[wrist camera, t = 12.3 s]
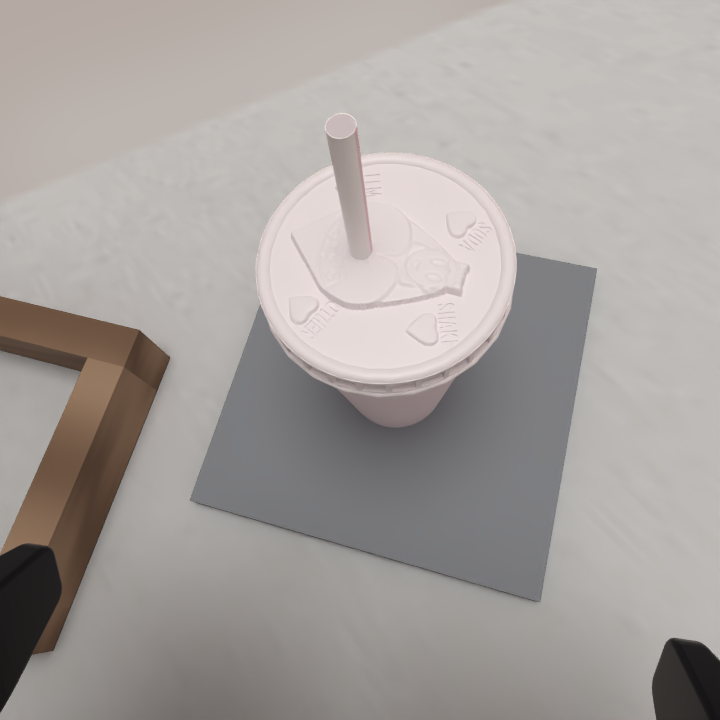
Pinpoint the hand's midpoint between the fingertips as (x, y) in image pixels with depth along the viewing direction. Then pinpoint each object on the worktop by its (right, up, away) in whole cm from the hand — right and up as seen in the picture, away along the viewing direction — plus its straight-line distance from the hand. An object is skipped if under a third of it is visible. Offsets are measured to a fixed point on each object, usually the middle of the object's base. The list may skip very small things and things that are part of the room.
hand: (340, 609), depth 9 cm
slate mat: (+2, +3, +15) cm, 16 cm away
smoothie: (+2, +3, +15) cm, 15 cm away
